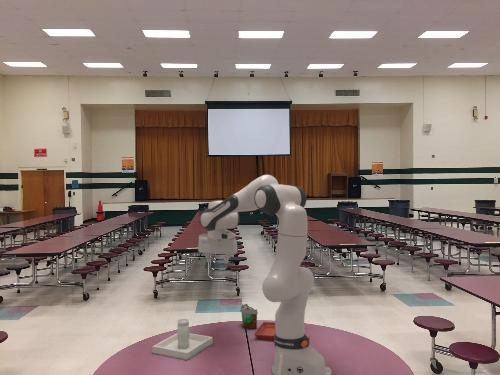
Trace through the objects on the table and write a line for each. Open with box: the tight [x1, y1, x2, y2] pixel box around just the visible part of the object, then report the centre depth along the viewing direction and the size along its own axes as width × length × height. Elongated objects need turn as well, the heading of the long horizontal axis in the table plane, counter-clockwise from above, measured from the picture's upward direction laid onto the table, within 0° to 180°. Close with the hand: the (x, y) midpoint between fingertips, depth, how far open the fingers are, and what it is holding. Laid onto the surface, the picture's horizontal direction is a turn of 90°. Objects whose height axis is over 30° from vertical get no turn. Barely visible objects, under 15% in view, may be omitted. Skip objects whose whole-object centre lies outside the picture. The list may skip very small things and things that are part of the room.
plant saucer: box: [253, 321, 276, 341], centre depth 204 cm, size 18×18×3 cm
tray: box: [151, 332, 214, 361], centre depth 189 cm, size 18×20×3 cm
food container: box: [239, 303, 258, 330], centre depth 216 cm, size 12×6×10 cm, turn 25°
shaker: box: [176, 318, 190, 349], centre depth 189 cm, size 5×5×12 cm
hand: (217, 262), depth 206 cm, fingers open, 8 cm apart
